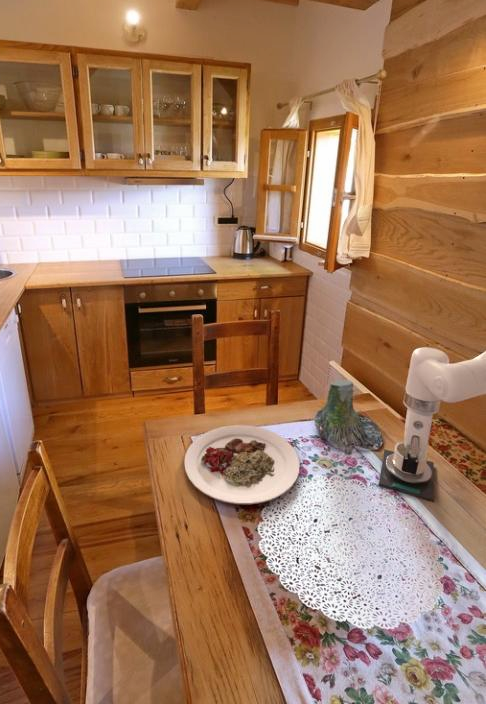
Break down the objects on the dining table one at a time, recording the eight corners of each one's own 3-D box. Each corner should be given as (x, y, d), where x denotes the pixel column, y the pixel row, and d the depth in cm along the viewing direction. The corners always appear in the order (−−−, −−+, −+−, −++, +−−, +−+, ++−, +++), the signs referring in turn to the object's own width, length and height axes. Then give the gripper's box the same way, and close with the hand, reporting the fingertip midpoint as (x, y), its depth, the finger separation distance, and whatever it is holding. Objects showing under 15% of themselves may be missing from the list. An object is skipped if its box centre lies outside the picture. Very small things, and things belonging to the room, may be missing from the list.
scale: (432, 468, 106) (433, 461, 105) (432, 506, 94) (434, 498, 93) (383, 455, 111) (384, 448, 110) (377, 489, 99) (379, 482, 98)
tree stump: (346, 465, 108) (339, 401, 105) (302, 438, 126) (295, 383, 123) (397, 443, 114) (392, 383, 112) (349, 421, 133) (343, 368, 130)
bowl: (424, 461, 102) (427, 446, 101) (424, 479, 96) (427, 464, 95) (393, 452, 105) (396, 438, 104) (391, 470, 99) (393, 455, 98)
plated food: (320, 493, 98) (322, 482, 96) (199, 522, 90) (199, 510, 89) (271, 423, 125) (272, 413, 123) (175, 440, 117) (174, 430, 116)
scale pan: (430, 464, 104) (431, 459, 103) (430, 492, 95) (431, 487, 94) (387, 453, 108) (387, 448, 107) (383, 478, 99) (384, 473, 99)
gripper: (440, 424, 85) (425, 490, 92) (439, 386, 100) (426, 445, 106) (402, 415, 88) (390, 479, 95) (405, 379, 103) (395, 437, 109)
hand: (409, 461), depth 100 cm, fingers closed on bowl, 7 cm apart
